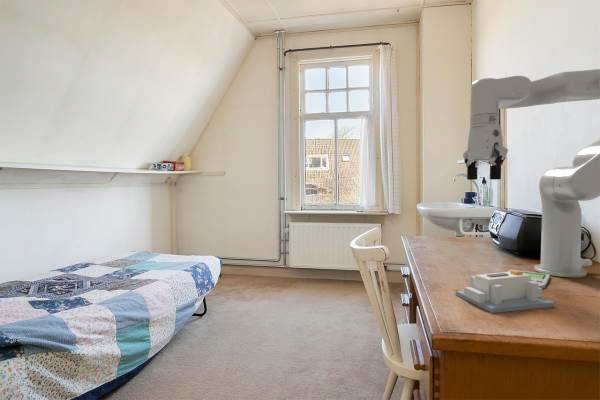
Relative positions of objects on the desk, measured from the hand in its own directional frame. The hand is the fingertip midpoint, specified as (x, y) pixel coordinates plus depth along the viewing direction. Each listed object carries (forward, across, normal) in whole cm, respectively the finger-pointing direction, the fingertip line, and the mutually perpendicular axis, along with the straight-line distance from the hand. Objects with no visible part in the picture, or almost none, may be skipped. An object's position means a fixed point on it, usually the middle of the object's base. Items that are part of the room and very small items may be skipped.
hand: (483, 179), depth 105 cm
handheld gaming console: (+29, -10, -6) cm, 31 cm away
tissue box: (+27, -23, +13) cm, 38 cm away
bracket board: (+28, -23, +13) cm, 39 cm away
